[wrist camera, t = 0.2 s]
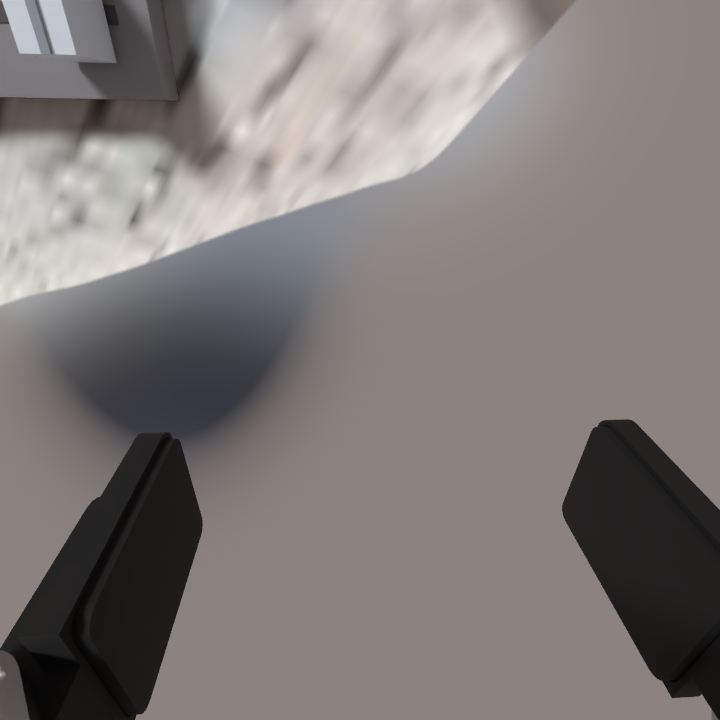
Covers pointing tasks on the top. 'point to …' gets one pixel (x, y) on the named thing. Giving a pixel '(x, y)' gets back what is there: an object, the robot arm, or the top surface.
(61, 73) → the fader console
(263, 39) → the top surface
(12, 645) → the robot arm
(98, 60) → the grey fader
